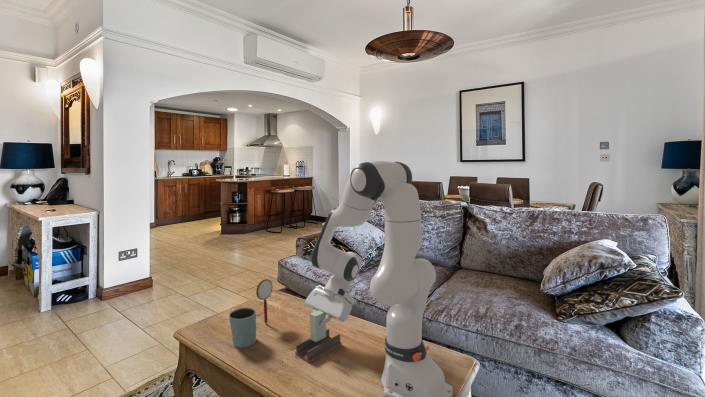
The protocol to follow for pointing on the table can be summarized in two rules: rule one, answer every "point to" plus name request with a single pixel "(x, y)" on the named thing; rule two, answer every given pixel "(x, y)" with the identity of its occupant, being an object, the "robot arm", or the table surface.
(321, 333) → the pale green eraser block
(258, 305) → the table surface
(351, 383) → the table surface
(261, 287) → the magnifying glass
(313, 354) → the track
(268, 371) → the table surface
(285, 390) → the table surface
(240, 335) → the blue-grey cylindrical cup
